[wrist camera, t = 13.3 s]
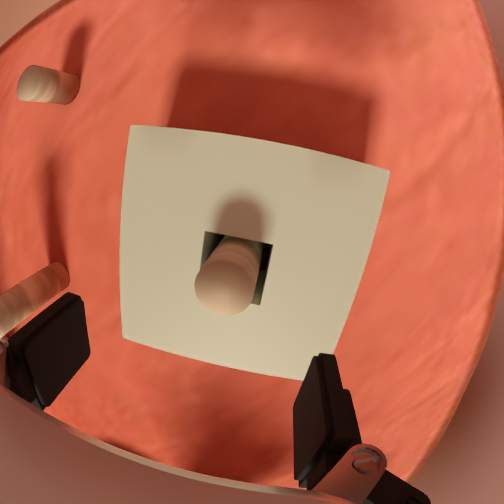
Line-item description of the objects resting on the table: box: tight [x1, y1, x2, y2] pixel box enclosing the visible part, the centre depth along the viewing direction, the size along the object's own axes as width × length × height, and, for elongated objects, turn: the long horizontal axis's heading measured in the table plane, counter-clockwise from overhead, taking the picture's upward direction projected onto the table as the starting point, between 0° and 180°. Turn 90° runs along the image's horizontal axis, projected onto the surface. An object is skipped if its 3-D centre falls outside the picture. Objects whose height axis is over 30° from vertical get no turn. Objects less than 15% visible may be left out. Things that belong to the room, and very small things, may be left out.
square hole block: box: [120, 125, 390, 381], centre depth 21 cm, size 16×16×6 cm
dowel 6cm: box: [17, 65, 80, 105], centre depth 18 cm, size 3×3×6 cm
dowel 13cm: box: [0, 262, 70, 338], centre depth 21 cm, size 3×3×13 cm
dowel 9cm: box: [194, 235, 265, 316], centre depth 19 cm, size 3×3×9 cm
